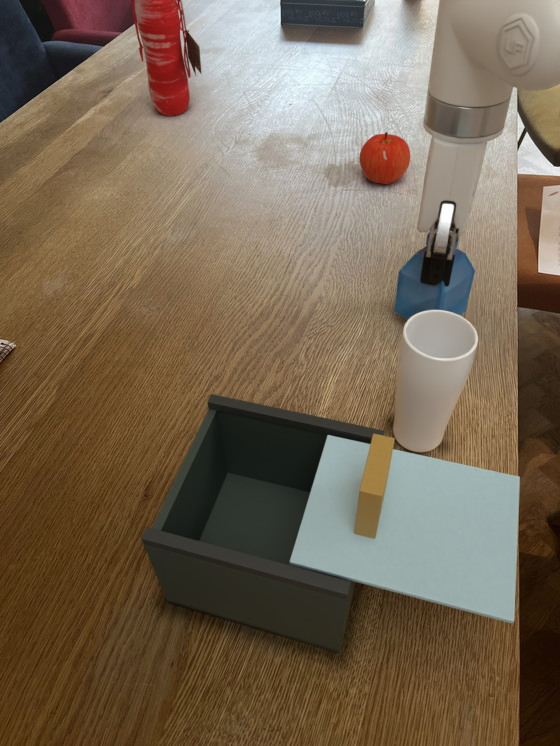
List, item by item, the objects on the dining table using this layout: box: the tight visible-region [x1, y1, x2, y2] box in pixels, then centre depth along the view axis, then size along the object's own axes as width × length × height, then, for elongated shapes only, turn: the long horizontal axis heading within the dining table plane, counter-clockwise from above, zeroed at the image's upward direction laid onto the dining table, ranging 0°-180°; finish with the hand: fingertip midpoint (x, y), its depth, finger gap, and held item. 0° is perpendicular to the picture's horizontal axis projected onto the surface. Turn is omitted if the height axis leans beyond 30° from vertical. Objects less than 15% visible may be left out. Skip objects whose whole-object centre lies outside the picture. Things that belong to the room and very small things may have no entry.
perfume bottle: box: [393, 222, 476, 320], centre depth 71 cm, size 6×6×12 cm
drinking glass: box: [392, 310, 479, 453], centre depth 60 cm, size 7×7×15 cm
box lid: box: [290, 434, 521, 624], centre depth 44 cm, size 16×12×6 cm
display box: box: [140, 393, 385, 654], centre depth 53 cm, size 16×15×12 cm
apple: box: [358, 131, 411, 185], centre depth 98 cm, size 8×8×8 cm
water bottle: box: [130, 0, 202, 117], centre depth 111 cm, size 12×8×25 cm, turn 82°
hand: (437, 265), depth 71 cm, fingers closed on perfume bottle, 5 cm apart
